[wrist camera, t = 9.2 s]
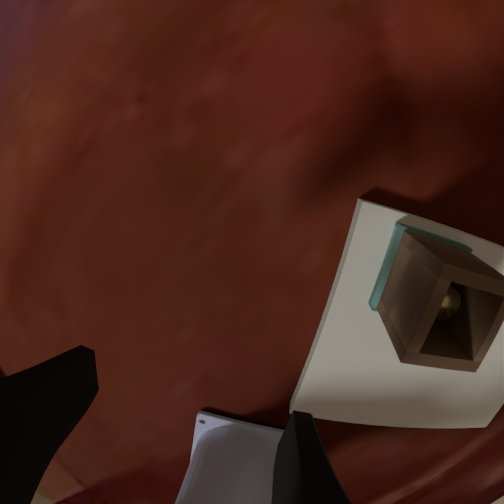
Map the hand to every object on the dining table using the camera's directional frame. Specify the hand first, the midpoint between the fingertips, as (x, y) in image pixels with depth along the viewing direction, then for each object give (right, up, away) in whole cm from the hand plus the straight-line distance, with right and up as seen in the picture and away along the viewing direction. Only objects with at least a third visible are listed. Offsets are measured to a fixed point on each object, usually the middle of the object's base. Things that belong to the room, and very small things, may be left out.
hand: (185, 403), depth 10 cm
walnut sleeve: (+12, +4, +6) cm, 14 cm away
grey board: (+16, -1, +9) cm, 18 cm away
